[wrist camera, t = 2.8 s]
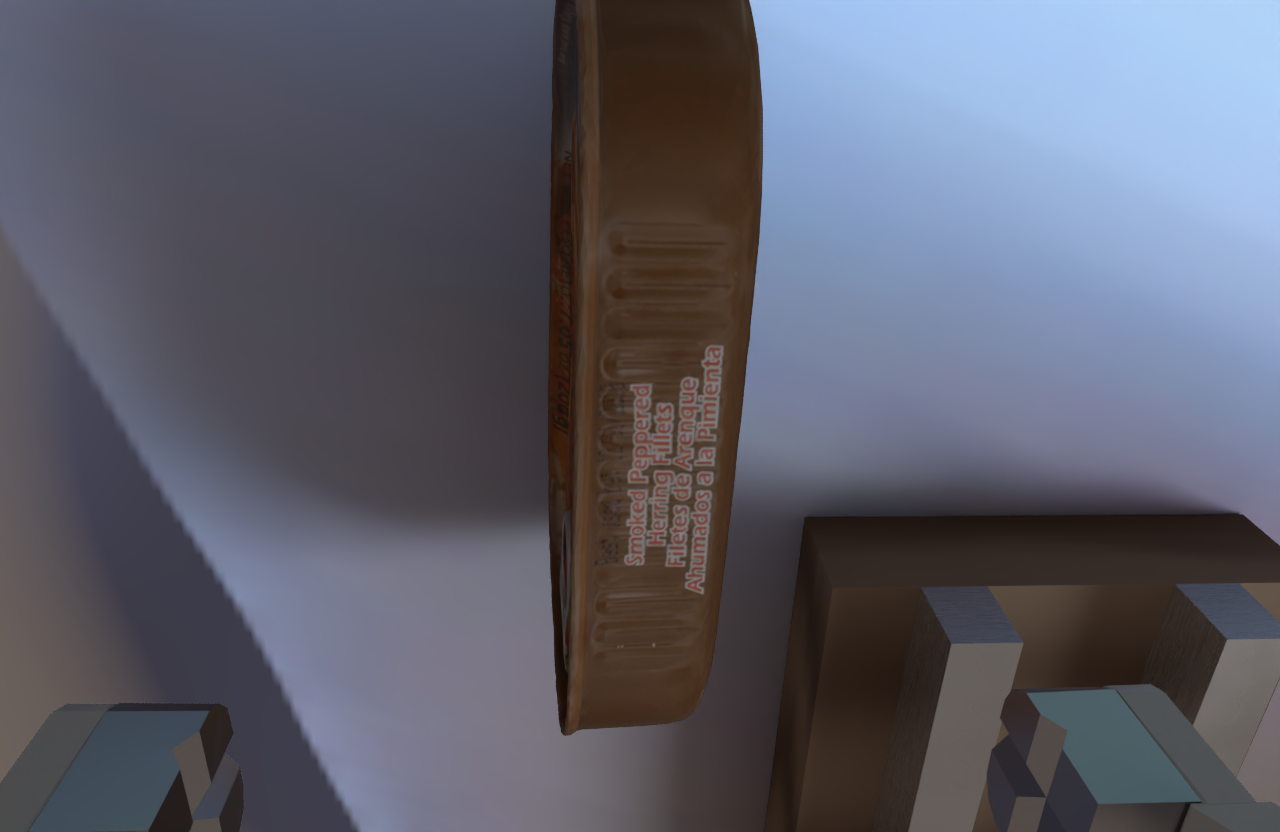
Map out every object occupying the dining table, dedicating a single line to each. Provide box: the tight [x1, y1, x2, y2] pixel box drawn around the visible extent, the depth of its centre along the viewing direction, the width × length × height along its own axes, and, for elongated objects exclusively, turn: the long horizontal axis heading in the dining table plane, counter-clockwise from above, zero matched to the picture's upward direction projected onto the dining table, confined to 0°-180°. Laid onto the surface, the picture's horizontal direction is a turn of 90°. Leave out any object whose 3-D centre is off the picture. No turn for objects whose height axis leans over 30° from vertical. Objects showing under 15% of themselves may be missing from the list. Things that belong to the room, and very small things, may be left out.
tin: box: [548, 0, 763, 736], centre depth 18 cm, size 15×3×8 cm, turn 177°
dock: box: [764, 515, 1280, 832], centre depth 26 cm, size 18×12×5 cm, turn 178°
